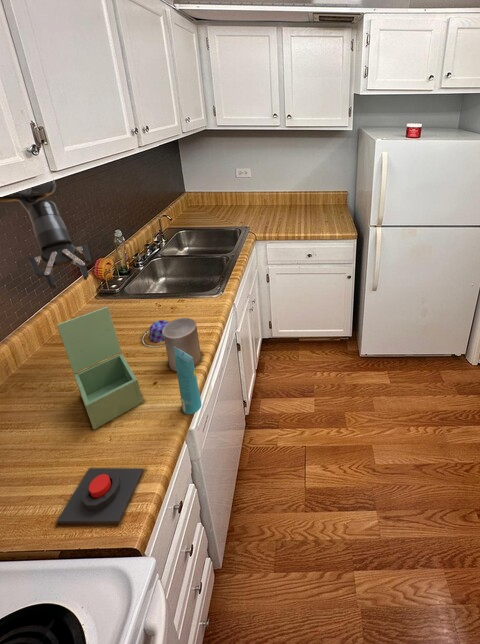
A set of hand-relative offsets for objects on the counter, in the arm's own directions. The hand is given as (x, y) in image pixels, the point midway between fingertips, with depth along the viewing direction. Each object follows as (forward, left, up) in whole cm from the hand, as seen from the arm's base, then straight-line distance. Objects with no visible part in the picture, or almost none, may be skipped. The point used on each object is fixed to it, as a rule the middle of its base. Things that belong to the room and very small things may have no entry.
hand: (70, 283), depth 94 cm
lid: (+8, -8, -13) cm, 17 cm away
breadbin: (+13, -14, -29) cm, 35 cm away
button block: (+25, -38, -29) cm, 54 cm away
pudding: (+15, +13, -30) cm, 36 cm away
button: (+25, -38, -26) cm, 53 cm away
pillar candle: (+28, +1, -30) cm, 41 cm away
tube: (+36, -16, -30) cm, 50 cm away
